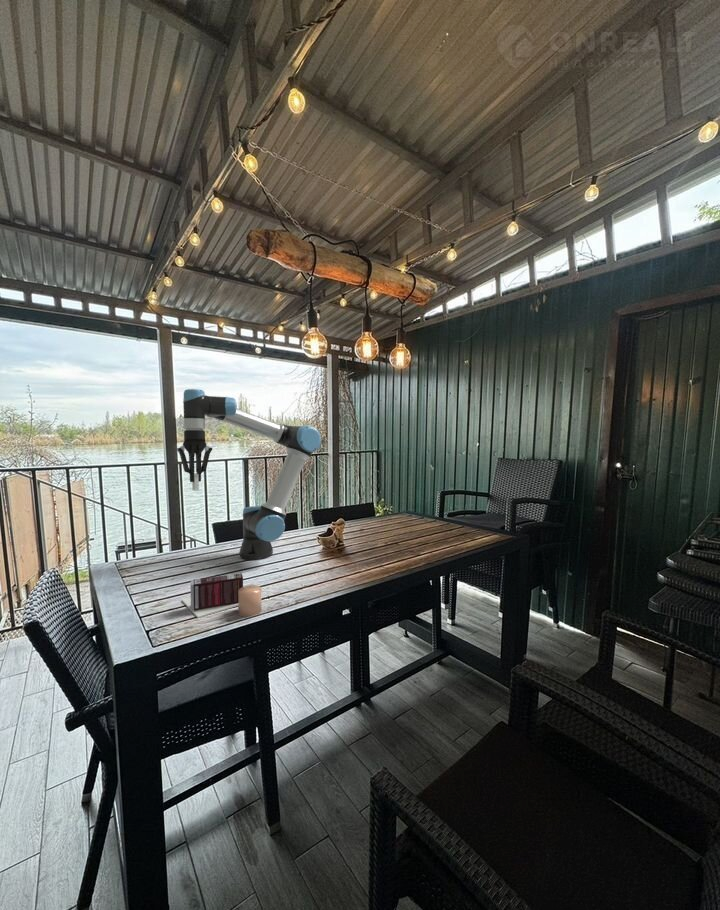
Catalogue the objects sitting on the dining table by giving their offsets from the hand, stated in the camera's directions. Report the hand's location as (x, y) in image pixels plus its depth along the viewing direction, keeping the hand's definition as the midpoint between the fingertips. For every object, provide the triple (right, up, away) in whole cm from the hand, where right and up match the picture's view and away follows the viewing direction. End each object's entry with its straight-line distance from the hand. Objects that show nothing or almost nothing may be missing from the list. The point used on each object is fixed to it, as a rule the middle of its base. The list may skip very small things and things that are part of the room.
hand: (195, 490), depth 144 cm
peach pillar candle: (+29, -36, -27) cm, 54 cm away
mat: (+16, -35, -20) cm, 44 cm away
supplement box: (+10, -31, -27) cm, 42 cm away
